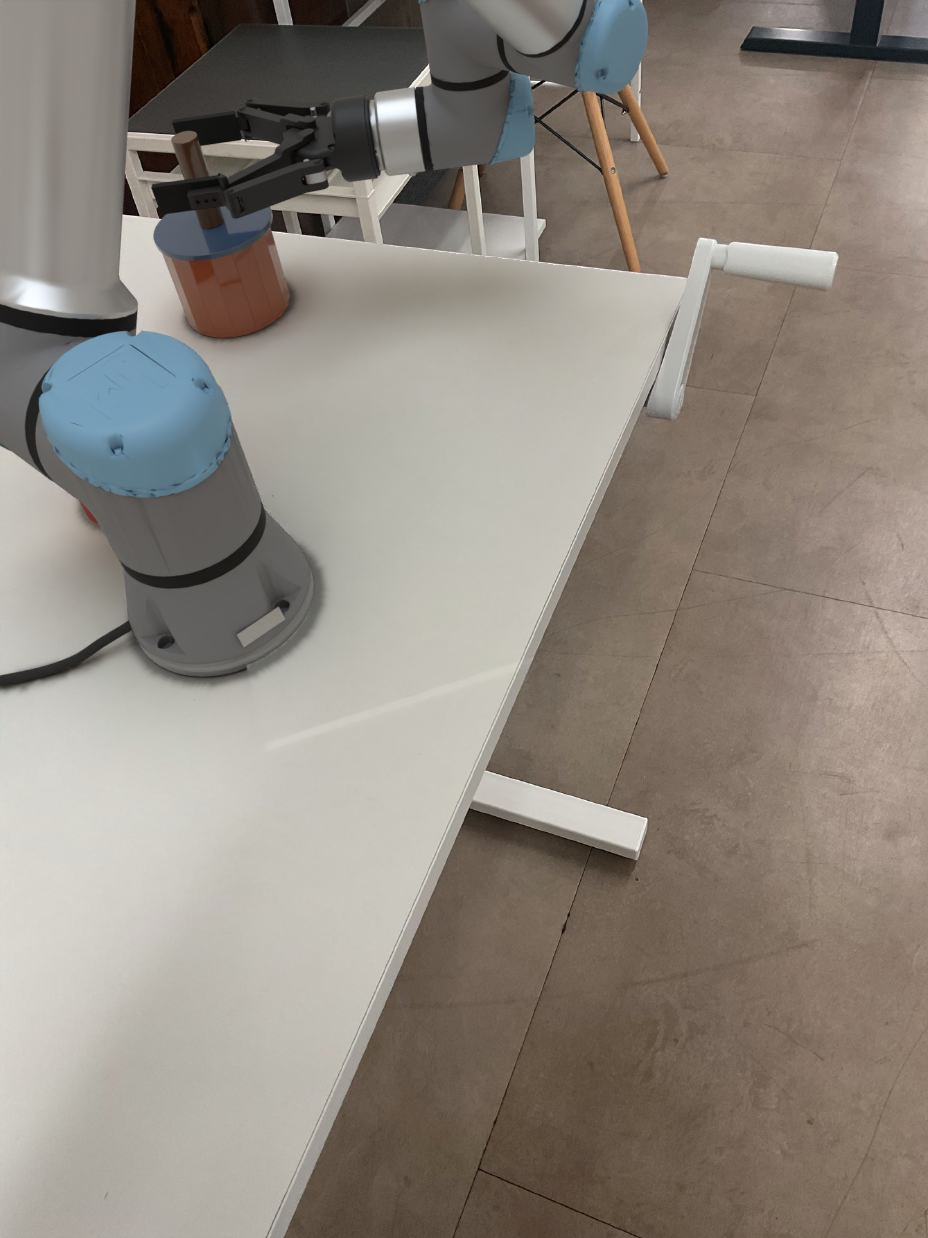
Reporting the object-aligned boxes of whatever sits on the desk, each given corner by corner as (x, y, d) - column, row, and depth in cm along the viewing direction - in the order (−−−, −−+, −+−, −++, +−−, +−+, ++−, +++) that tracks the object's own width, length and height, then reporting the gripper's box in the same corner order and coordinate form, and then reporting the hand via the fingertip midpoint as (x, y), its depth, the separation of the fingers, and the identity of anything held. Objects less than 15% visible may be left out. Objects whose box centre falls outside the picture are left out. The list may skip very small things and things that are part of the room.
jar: (195, 349, 109) (164, 270, 102) (182, 294, 116) (153, 217, 109) (298, 320, 110) (276, 240, 103) (279, 267, 118) (257, 189, 110)
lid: (228, 275, 101) (195, 176, 93) (132, 255, 106) (94, 159, 98) (297, 211, 107) (271, 114, 100) (204, 195, 112) (173, 101, 104)
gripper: (382, 237, 94) (161, 267, 95) (384, 118, 110) (195, 144, 111) (367, 158, 88) (132, 191, 90) (372, 44, 104) (172, 73, 106)
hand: (166, 165), depth 101 cm, fingers open, 13 cm apart
